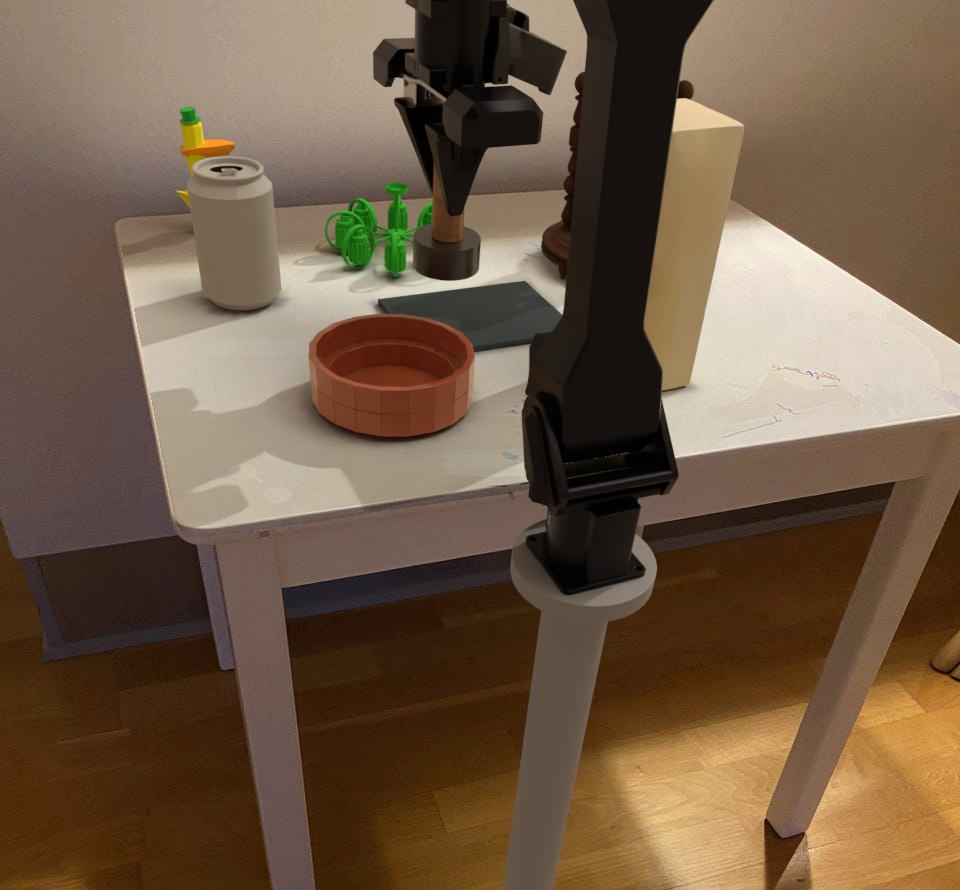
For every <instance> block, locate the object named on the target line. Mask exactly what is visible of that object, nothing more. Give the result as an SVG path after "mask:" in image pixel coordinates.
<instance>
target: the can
mask: <svg viewBox="0 0 960 890" xmlns="http://www.w3.org/2000/svg"><path fill="white" fill-rule="evenodd" d="M192 172H193V173H194V175H193V176H192V177H191V176H190V179H188V181H187V183H186V190H187V191H188V198H189V205H190V208H189V210H190V211H189V212H190V218H191V225H192V230H193V231H192V232H193V237H194V238H193V239H194V244H195V250H196V252H195V253H196V257H197V258H196V259H197V264H198V271H199V277H200V286H201V291H202V294H203V295H204V296H205V297H206V298H207V299H209V300H210V301H211V302H213V303H214V305H216V306H218V307H220V308H221V309H222V308H223V309H226V310H230V311H253V310H257V309H262V308H264V307H267V306H268V305H270V304H272V302H274V299H275V298H277V297H278V296H279V295H280V293H281V292H282V289H283V288H282V280H281V279H282V278H281V268H280V258H279V247H278V246H279V245H278V244H279V243H278V233H277V223H276V222H277V221H276V211H275V202H274V191H273V183H272V181H271V180H270V179H269V178H268V177H267V176H266V175H265V174H264V172H265V169H264V165H263V164H262V163H260V161H257V160H255V159H252V158H249V157H243V156H235V155H226V156H217V157H207V158H205V159H202V160H200V161H198V162H196V163H195V164H194V165H193V166H192Z"/></svg>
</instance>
